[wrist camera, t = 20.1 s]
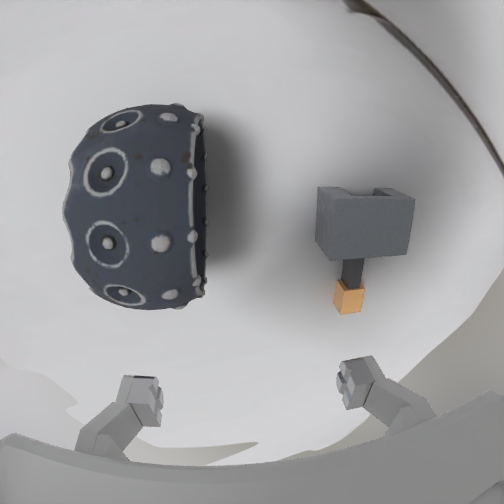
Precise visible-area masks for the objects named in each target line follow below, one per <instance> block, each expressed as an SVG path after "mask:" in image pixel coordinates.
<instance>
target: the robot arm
mask: <svg viewBox="0 0 504 504" xmlns="http://www.w3.org/2000/svg"><path fill="white" fill-rule="evenodd" d="M339 368H340V370H341V371H340V372H339V373H338V374H337V378H336V382H337V388H338V391H339V392H340V393H341V394H343V398H342V401H343V403H344V405H345V408H346V410H349V409H354V408H359V407H363V408H365V409H366V410H367V411H368V412H370V413H371V414H372V415H374V416H375V417H376V418H378V419H379V420H380V421H381V422H383V423H384V424H385V425H387V426H388V427H389V428H388V430H387V431H386V433H385V435H384V436H383V437H382V438H379V439H376V440H372V441H369V442H366V443H362V444H359V445H355V446H351V447H348V448H344V449H340V450H335V451H332V452H327V453H322V454H317V455H312V456H307V457H301V458H296V459H289V460H282V461H274V462H265V463H256V464H244V465H226V466H178V465H161V464H149V463H139V462H131V461H130V460H129V459H128V458H127V457H126V456H125V454H124V453H123V450H124V449H125V448H126V447H127V446H128V444H129V443H130V442H131V441H132V440H133V438H134V437H135V436H136V435H137V434H138V432H139V431H140V430H141V429H142V428H143V427H142V426H150V427H160V426H161V418H162V414H161V412H160V410H161V409H162V408H163V402H164V401H163V392H162V389H161V388H160V387H159V386H158V384H159V381H158V379H157V377H149V376H131V375H124V377H123V378H122V381H121V385H120V388H119V391H118V395H117V399H116V402H112V403H111V404H110V405H109V406H107V407H106V408H105V409H104V410H103V411H102V412H101V413H99V414H98V415H97V416H96V417H95V418H94V419H92V420H91V421H90V422H89V423H88V424H87V425H85V426H84V427H83V428H82V429H81V430H80V433H79V436H78V440H77V443H76V447H75V450H74V451H72V450H68V449H64V448H60V447H57V446H54V445H50V444H46V443H43V442H40V441H38V440H35V439H32V438H29V437H26V436H23V435H21V434H17V433H12V434H10V435H8V436H6V437H4V438H3V439H1V440H0V504H504V396H503V395H500V394H498V393H496V392H493V391H486V392H483V393H481V394H480V395H478V396H476V397H474V398H472V399H471V400H469V401H467V402H465V403H463V404H461V405H459V406H457V407H455V408H453V409H451V410H449V411H447V412H445V413H443V414H441V415H438V416H436V414H435V413H434V411H433V409H432V408H431V406H430V404H429V403H428V401H427V399H426V398H424V397H422V396H420V395H419V394H417V393H415V392H413V391H411V390H409V389H407V388H405V387H404V386H402V385H400V384H398V383H396V382H395V381H393V380H391V379H389V378H388V379H386V378H385V376H384V374H383V373H382V371H381V369H380V367H379V366H378V364H377V362H376V361H375V359H374V357H373V356H366V357H362V358H356V359H351V360H346V361H342V362H341V363H340V366H339Z"/></svg>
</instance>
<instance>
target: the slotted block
mask: <svg viewBox="0 0 504 504" xmlns="http://www.w3.org/2000/svg"><path fill="white" fill-rule="evenodd" d="M414 205H415V199H413V198H411V197H409V196H407V195H404V194H402V193H400V192H398V191H396V190H393V189H391V188H374V196H353V195H351V194H349V193H347V192H346V191H344V190H342V189H340V188H339V187H318V198H317V219H316V236H315V242H316V243H317V244H318V246H319V247H320V248H321V249H322V251H323V252H324V253H325V255H326V256H327V257H328V259H329V260H330V261H331V260H344V259H357V258H370V257H383V256H395V255H406V253H407V248H408V243H409V237H410V232H411V225H412V219H413V212H414Z"/></svg>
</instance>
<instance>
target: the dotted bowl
mask: <svg viewBox="0 0 504 504" xmlns="http://www.w3.org/2000/svg"><path fill="white" fill-rule="evenodd" d="M203 120H204V116H203V115H202V114H201V113H193V112H191V111H189V110H187V109H186V108H185V107H184V106H183V105H181V104H178V103H174V104H171V105H153V104H150V105H143V106H137V107H131V108H126V109H123V110H120V111H118V112H115V113H113V114H111V115H109V116H107V117H105V118H103V119H102V120H100V121H99V122H97V123H96V124H94V125H93V126H92V127H90V128H89V129H88V130H87V132H86V135H85V137H84V138H83V139H82V141H81V142H80V143H79V145H78V146H77V147H76V149H75V150H74V151H73V153H72V155H71V158H70V161H69V168H70V183H69V187H68V190H67V194H66V197H65V200H64V202H63V208H62V214H63V220H64V222H65V224H66V227H67V230H68V232H69V235H70V238H71V242H72V254H71V261H72V264H73V266H74V268H75V270H76V271H77V272H78V274H79V275H80V276H81V277H82V278H83V279H84V280H85V282H86V283H87V284H88V285H89V286H90V288H89V289H90V290H91V291H92V292H93V293H95V294H96V295H98V296H99V297H101V298H103V299H105V300H107V301H109V302H111V303H114V304H117V305H120V306H123V307H126V308H132V309H141V310H158V309H166V308H173V309H182V308H184V307H185V306H186V305H187V304H188V303H189V301H191V300H193V299H195V298H202V297H203V296H204V295H205V290H204V285H205V284H206V283H207V278H206V277H205V269H206V258H207V257H208V253H207V251H206V227H207V225H208V224H209V223H208V220H207V216H206V192H207V190H208V185H207V184H206V158H207V153H206V152H205V138H204V134H205V133H206V128H205V127H204V126H203Z"/></svg>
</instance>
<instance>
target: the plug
mask: <svg viewBox="0 0 504 504" xmlns="http://www.w3.org/2000/svg"><path fill="white" fill-rule="evenodd" d="M363 264H364V258H357V259H344V262H343V270H342V277H341V280H337V281H336V288H335V295H334V302H333V303H334V305H335V307H336V308H337V310H338V312H339V313H340V315H341V314H349V313H356V312H360V311H361V306H362V301H363V296H364V291H365V288H364V287H363V286H362V284H361V283H360V282H361V276H362V270H363Z"/></svg>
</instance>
